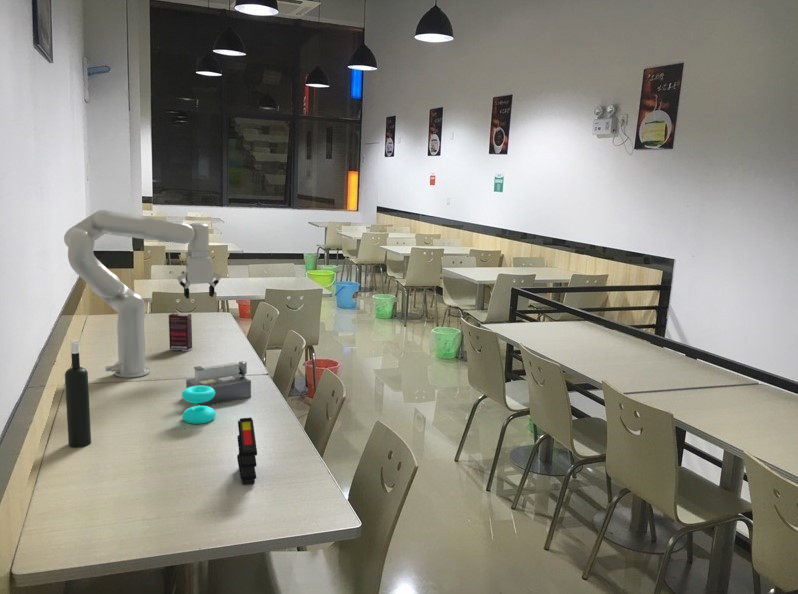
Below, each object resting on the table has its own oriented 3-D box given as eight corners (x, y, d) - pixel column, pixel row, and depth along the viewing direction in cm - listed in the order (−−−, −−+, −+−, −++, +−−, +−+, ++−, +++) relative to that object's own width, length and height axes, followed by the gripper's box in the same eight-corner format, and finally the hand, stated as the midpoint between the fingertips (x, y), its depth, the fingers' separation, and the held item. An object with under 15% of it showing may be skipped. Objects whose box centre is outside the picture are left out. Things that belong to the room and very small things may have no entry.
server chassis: (201, 406, 222) (201, 387, 221) (186, 396, 232) (186, 377, 231) (256, 396, 234) (256, 378, 233) (240, 386, 244) (240, 369, 243)
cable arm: (244, 371, 239) (244, 359, 238) (248, 373, 236) (248, 361, 236) (194, 379, 227) (194, 366, 227) (198, 382, 225) (197, 369, 224)
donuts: (216, 392, 206) (182, 395, 203) (217, 423, 208) (183, 426, 204) (213, 383, 215) (181, 385, 212) (214, 412, 217) (181, 415, 214)
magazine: (250, 455, 181) (252, 416, 173) (255, 495, 171) (258, 455, 163) (236, 456, 180) (238, 417, 172) (240, 496, 170) (242, 457, 161)
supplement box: (192, 349, 293) (192, 313, 290) (188, 351, 288) (187, 315, 286) (173, 347, 294) (172, 312, 291) (169, 350, 289) (168, 314, 286)
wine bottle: (66, 448, 186) (61, 343, 180) (70, 440, 191) (65, 338, 186) (89, 446, 187) (84, 343, 182) (92, 439, 193) (87, 338, 187)
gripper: (179, 256, 255) (180, 300, 258) (223, 255, 265) (223, 297, 268) (174, 254, 262) (174, 297, 264) (217, 253, 271) (217, 294, 274)
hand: (199, 297), depth 266 cm, fingers open, 9 cm apart
